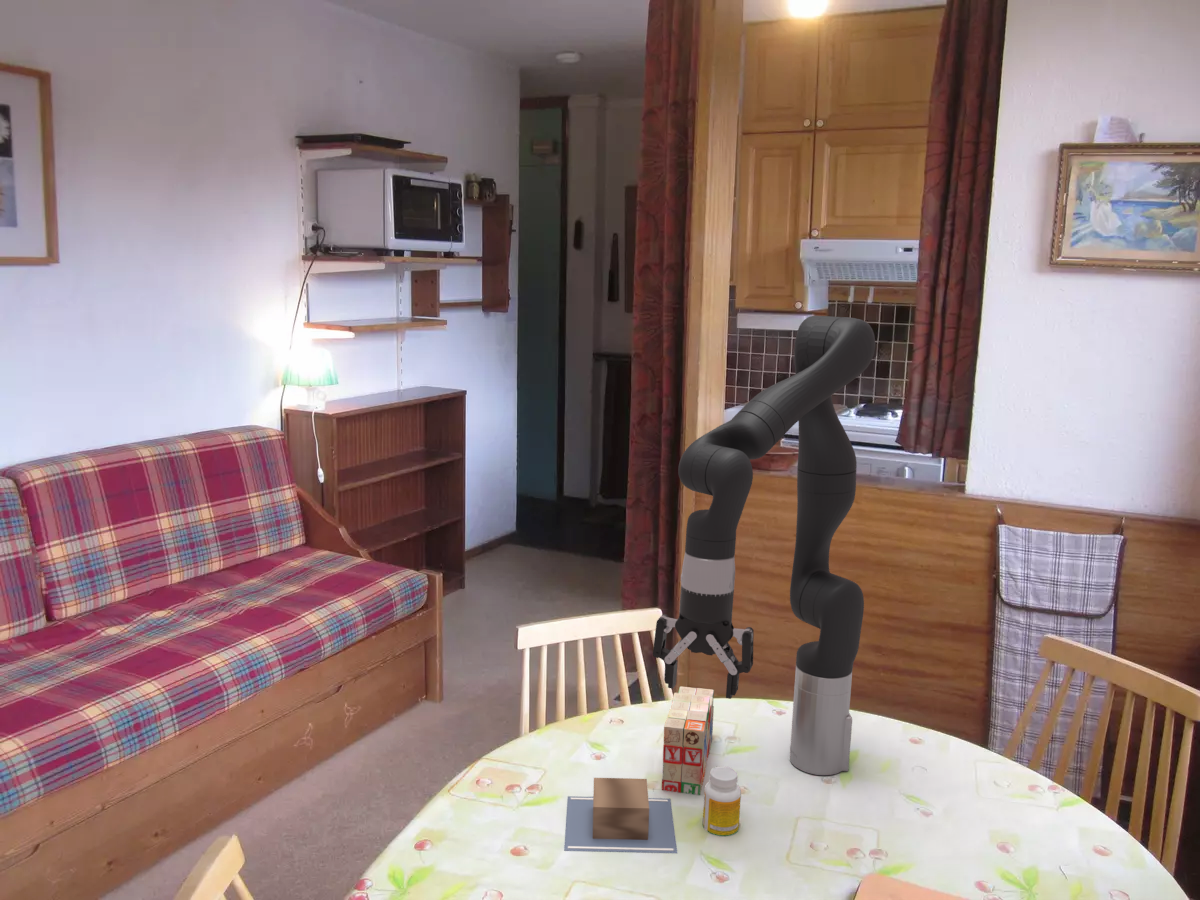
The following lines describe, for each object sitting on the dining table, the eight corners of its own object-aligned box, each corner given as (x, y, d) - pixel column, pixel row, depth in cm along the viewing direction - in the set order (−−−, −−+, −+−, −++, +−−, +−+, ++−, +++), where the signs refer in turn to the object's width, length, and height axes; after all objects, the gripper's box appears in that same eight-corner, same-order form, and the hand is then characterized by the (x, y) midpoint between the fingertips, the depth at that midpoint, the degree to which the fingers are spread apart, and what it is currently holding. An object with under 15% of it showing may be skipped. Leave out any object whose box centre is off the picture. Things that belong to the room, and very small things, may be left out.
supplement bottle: (695, 826, 143) (698, 767, 141) (725, 818, 146) (728, 760, 144) (715, 846, 139) (718, 785, 137) (745, 837, 141) (749, 777, 139)
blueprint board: (670, 804, 149) (670, 797, 149) (677, 859, 135) (677, 852, 135) (567, 802, 149) (567, 795, 149) (564, 856, 135) (564, 849, 135)
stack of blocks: (677, 733, 172) (680, 669, 169) (712, 737, 171) (716, 673, 168) (660, 797, 151) (663, 725, 149) (700, 802, 150) (703, 730, 148)
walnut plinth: (645, 808, 146) (646, 778, 145) (648, 839, 138) (649, 808, 137) (593, 807, 146) (593, 777, 145) (592, 838, 138) (593, 807, 137)
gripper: (761, 583, 137) (753, 690, 140) (665, 570, 142) (659, 673, 144) (753, 599, 130) (744, 710, 133) (652, 584, 135) (646, 692, 137)
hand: (700, 691), depth 139 cm, fingers open, 8 cm apart
